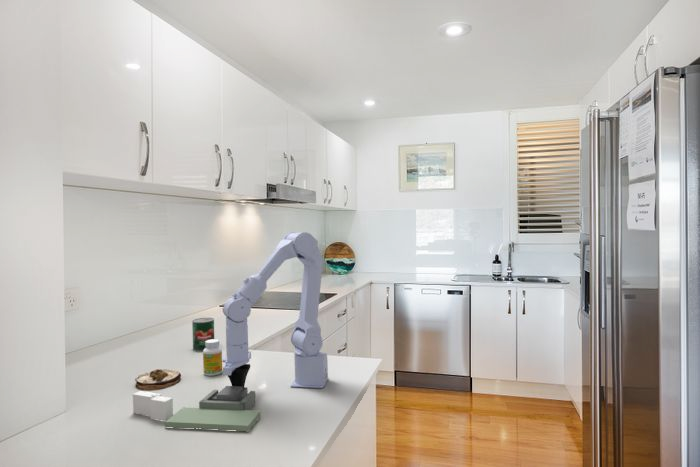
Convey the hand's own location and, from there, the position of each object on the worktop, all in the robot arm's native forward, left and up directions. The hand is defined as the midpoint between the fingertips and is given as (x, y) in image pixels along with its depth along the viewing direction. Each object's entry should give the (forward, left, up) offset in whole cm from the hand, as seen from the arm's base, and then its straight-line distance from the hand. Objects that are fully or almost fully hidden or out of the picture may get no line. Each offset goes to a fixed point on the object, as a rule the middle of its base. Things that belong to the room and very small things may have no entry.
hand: (238, 393), depth 119 cm
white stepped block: (+17, +13, -2) cm, 22 cm away
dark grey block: (0, +5, -1) cm, 5 cm away
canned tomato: (+32, -44, -2) cm, 55 cm away
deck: (0, +11, -1) cm, 11 cm away
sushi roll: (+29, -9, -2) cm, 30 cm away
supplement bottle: (+16, -18, -1) cm, 24 cm away
